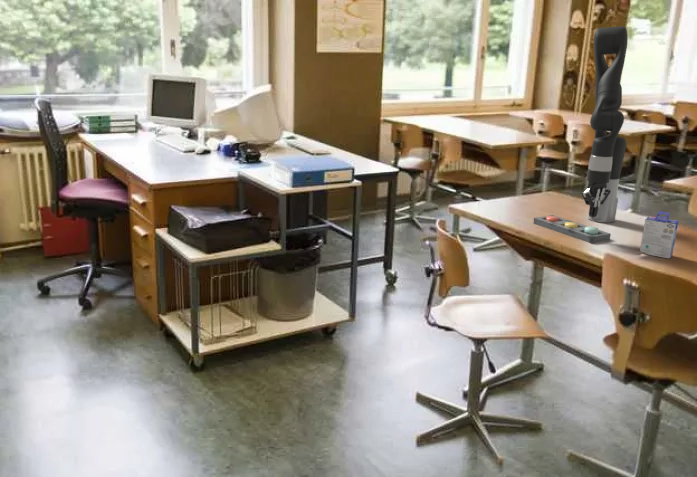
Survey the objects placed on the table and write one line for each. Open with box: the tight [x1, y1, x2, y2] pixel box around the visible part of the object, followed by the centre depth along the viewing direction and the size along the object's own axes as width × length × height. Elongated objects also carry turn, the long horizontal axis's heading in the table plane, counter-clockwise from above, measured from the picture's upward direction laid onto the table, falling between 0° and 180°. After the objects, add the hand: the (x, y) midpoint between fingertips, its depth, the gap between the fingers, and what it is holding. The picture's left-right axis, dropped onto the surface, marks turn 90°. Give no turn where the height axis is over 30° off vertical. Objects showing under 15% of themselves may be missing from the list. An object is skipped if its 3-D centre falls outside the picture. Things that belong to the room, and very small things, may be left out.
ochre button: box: [565, 221, 578, 229], centre depth 252 cm, size 5×5×2 cm
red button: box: [546, 215, 559, 222], centre depth 259 cm, size 5×5×2 cm
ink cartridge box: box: [639, 211, 679, 259], centre depth 230 cm, size 10×6×14 cm, turn 58°
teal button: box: [584, 225, 599, 235], centre depth 244 cm, size 5×5×2 cm
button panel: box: [533, 214, 612, 244], centre depth 252 cm, size 27×10×3 cm, turn 32°
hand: (592, 216), depth 243 cm, fingers closed
